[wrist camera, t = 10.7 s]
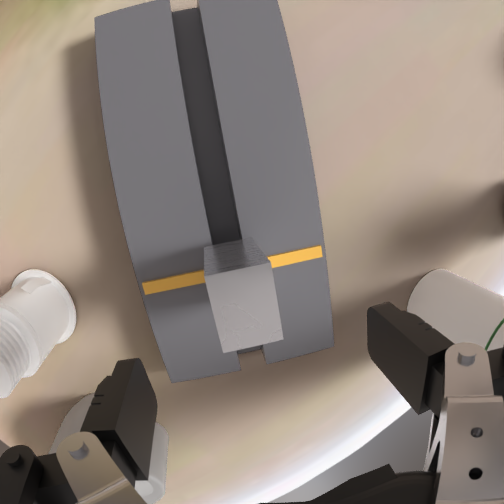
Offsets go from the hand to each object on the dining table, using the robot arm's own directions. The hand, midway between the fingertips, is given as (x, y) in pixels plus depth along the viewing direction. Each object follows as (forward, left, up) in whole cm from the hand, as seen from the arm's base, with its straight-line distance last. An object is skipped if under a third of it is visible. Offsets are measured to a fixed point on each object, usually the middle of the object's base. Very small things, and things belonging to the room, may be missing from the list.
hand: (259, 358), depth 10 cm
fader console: (-6, 0, -14) cm, 16 cm away
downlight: (+1, -17, -15) cm, 22 cm away
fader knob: (0, 0, -14) cm, 14 cm away
